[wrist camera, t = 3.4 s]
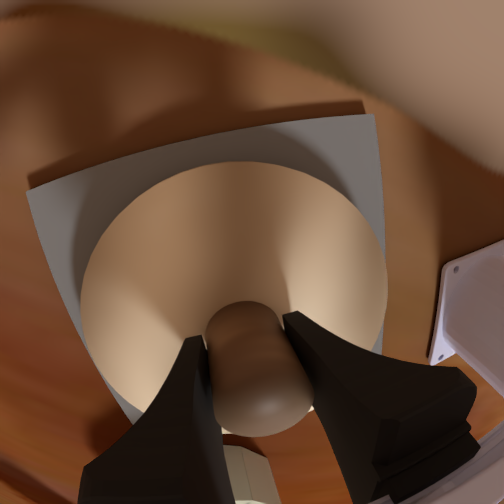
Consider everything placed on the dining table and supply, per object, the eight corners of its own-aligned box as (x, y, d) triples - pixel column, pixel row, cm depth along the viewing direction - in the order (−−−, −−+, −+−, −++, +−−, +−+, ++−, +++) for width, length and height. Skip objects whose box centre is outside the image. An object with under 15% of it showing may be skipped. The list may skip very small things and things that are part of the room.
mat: (366, 114, 12) (373, 113, 12) (374, 372, 18) (378, 377, 17) (32, 189, 10) (25, 191, 10) (143, 431, 16) (142, 438, 15)
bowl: (258, 429, 17) (274, 485, 13) (278, 491, 21) (290, 530, 17) (104, 451, 16) (97, 503, 12) (162, 508, 20) (165, 547, 16)
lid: (368, 137, 11) (455, 142, 7) (374, 380, 16) (415, 437, 11) (42, 213, 10) (-31, 256, 5) (152, 438, 14) (151, 510, 10)
